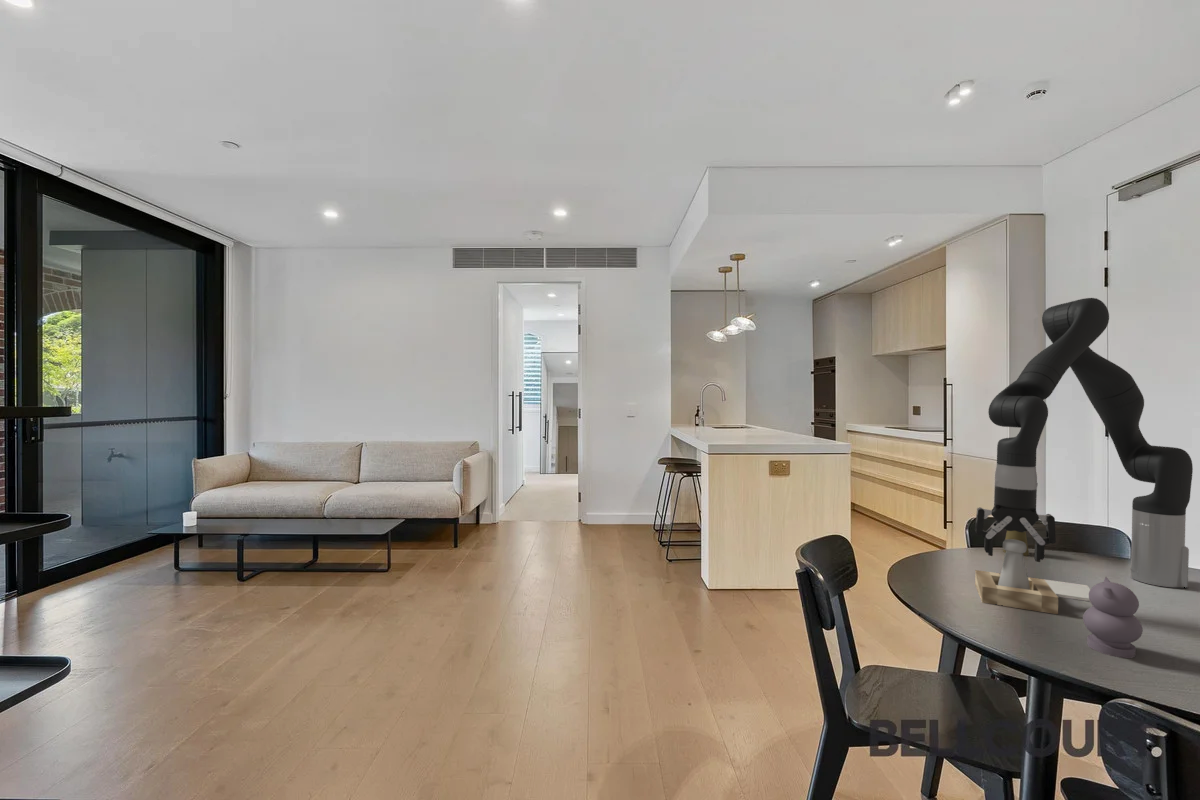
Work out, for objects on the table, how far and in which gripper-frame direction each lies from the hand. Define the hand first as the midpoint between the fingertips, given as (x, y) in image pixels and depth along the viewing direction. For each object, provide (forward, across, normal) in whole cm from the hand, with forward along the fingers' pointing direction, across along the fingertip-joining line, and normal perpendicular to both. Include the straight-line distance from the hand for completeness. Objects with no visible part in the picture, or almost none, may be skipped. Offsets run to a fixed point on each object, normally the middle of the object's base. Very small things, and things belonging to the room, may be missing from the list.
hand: (1013, 557), depth 124 cm
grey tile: (+9, -11, -12) cm, 19 cm away
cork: (+9, -7, -45) cm, 47 cm away
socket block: (+9, 0, 0) cm, 9 cm away
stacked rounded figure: (+9, -11, +22) cm, 26 cm away
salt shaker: (+9, 0, 0) cm, 9 cm away
